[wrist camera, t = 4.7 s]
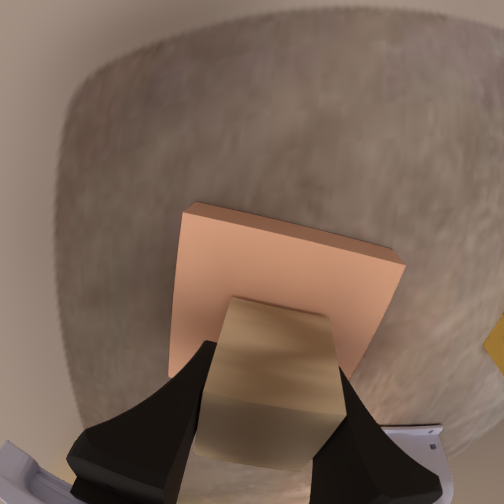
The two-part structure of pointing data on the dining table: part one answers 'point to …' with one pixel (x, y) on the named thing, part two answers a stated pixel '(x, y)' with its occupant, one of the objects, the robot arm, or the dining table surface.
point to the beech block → (270, 388)
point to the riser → (276, 279)
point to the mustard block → (496, 344)
